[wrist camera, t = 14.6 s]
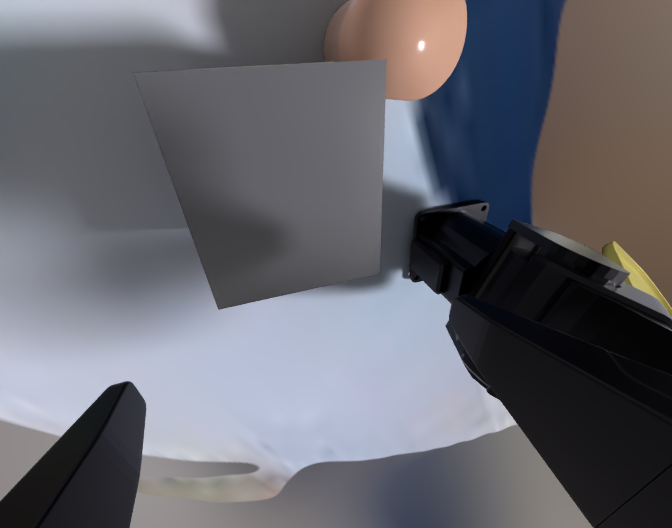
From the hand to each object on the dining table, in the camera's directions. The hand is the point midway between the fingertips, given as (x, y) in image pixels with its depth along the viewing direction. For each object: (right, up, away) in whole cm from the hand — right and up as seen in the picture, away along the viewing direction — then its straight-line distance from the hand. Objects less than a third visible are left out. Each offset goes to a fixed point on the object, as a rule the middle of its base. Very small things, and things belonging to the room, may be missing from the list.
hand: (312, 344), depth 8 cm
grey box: (-3, +9, +9) cm, 13 cm away
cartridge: (+2, +14, +8) cm, 16 cm away
